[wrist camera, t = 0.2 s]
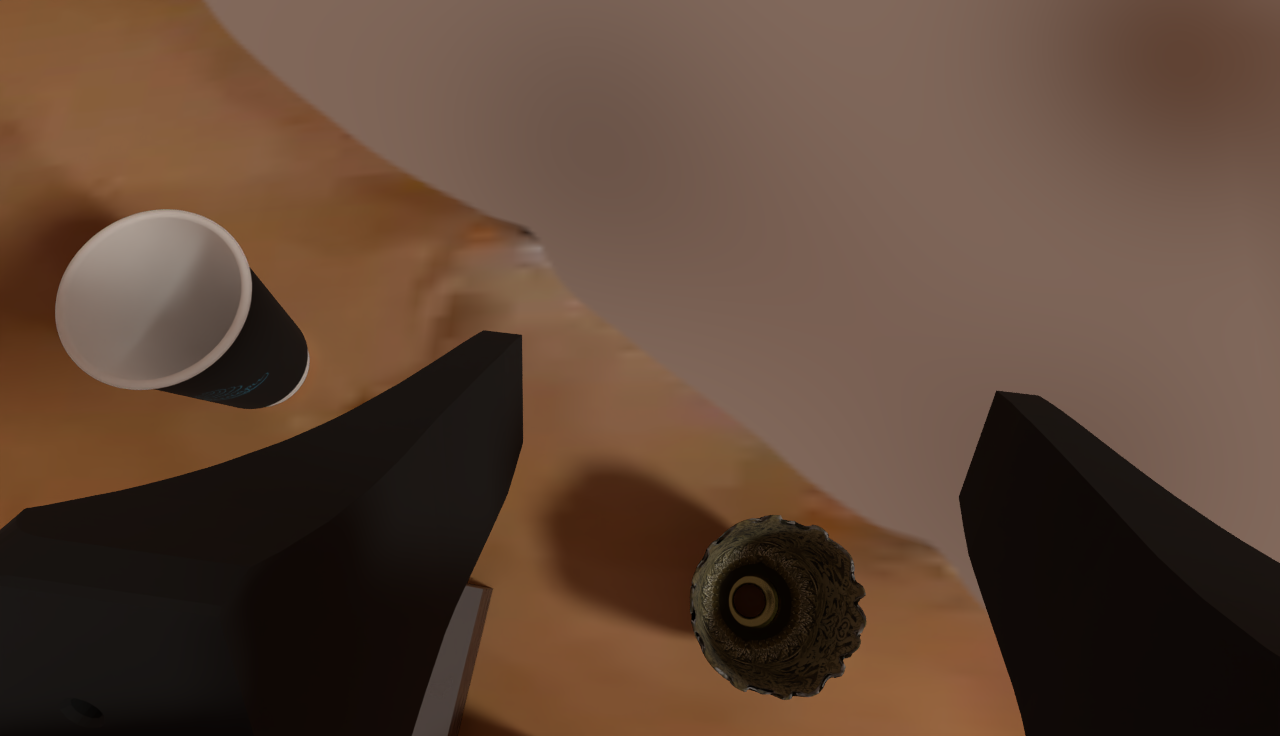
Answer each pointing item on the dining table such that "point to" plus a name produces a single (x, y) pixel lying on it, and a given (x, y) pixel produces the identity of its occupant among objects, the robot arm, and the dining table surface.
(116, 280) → the dixie cup
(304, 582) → the robot arm
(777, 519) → the cup
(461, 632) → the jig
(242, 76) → the dining table surface
